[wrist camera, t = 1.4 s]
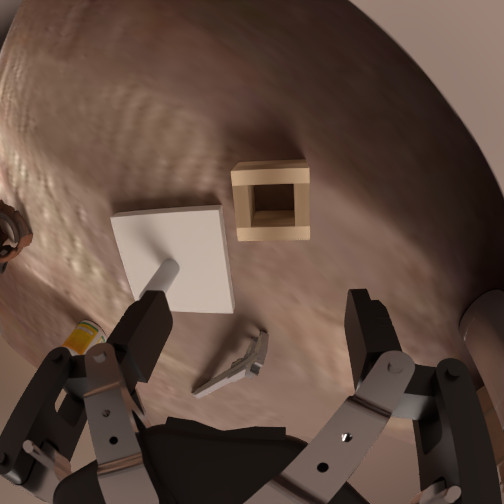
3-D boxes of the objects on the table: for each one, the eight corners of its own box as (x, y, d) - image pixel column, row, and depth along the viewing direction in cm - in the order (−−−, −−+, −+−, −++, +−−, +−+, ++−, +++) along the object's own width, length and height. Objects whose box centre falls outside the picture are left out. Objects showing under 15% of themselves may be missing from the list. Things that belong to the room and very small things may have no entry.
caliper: (262, 327, 34) (256, 366, 29) (269, 331, 35) (265, 370, 29) (192, 392, 43) (182, 422, 38) (198, 394, 44) (189, 424, 38)
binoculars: (432, 433, 47) (447, 519, 25) (419, 424, 44) (435, 523, 22) (504, 387, 38) (534, 472, 16) (500, 372, 36) (537, 470, 14)
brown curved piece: (-3, 187, 30) (-25, 199, 23) (44, 199, 34) (29, 213, 28) (-9, 256, 32) (-27, 279, 26) (35, 268, 37) (22, 294, 30)
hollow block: (305, 159, 24) (309, 168, 21) (306, 221, 27) (309, 239, 24) (238, 161, 25) (230, 171, 22) (244, 223, 28) (238, 241, 24)
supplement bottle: (113, 342, 40) (86, 387, 31) (93, 345, 41) (67, 386, 33) (92, 316, 37) (60, 360, 29) (74, 321, 39) (44, 361, 30)
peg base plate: (221, 204, 27) (200, 238, 21) (235, 305, 33) (222, 353, 26) (116, 212, 29) (77, 243, 22) (143, 301, 34) (117, 341, 28)
